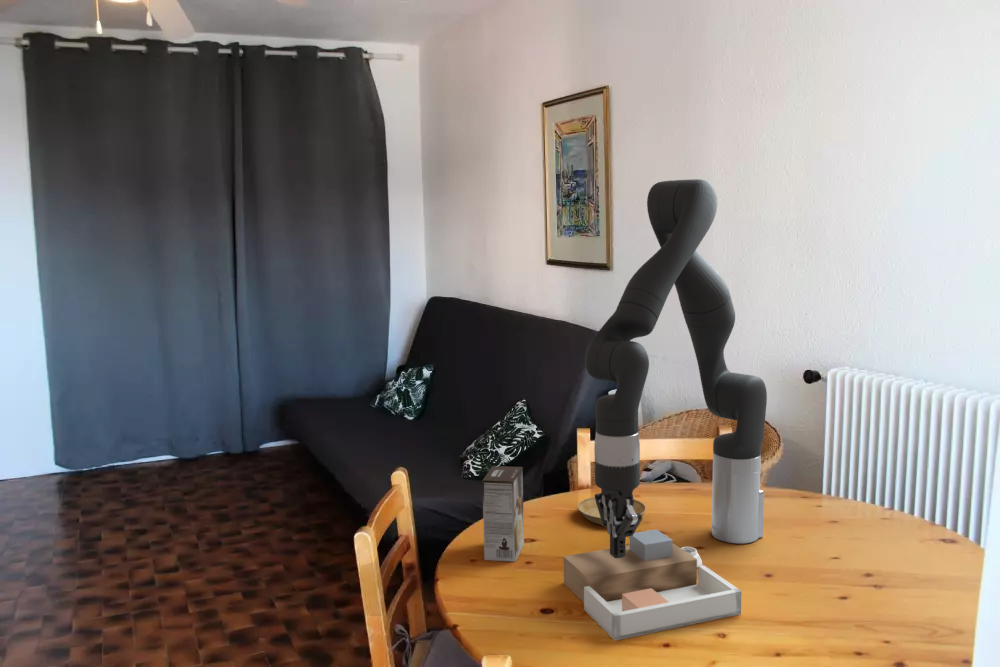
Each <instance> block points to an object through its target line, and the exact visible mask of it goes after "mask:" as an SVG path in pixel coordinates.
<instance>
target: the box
mask: <svg viewBox="0 0 1000 667" xmlns="http://www.w3.org/2000/svg"><path fill="white" fill-rule="evenodd" d="M697 569H698V570H697V573H698V574H697V576H698V577H697V584H696V585H692V586H687V587H682V588H677V589H671V590H666V591H661V592H657V593H658V594H659V595H661V596H662V597H663V598H665V599H666V600H667V601H668V602H667V603H662V604H657V605H652V606H647V607H642V608H637V609H632V610H627V611H622V599H619V600H614V601H609V602H606V601H605V600H604V599H603V598H602V597H601V596H600V595H599V594H598V593H597V592H595V591H594V590H593V589H592V588H591V587H590V586H586V587H584V603H583V610H584V611H585V612H586V614H588V615H589V616H590V617H591V618H592V619H593V620H594V621H595V622H596V624H598V625H599V626H600V627H601V629H603V631H605V633H607V634H608V636H609V637H610V638H612V639H613V641H621V640H625V639H630V638H634V637H640V636H643V635H644V636H645V635H649V634H654V633H659V632H662V631H667V630H672V629H677V628H681V627H687V626H692V625H696V623H697V624H701V623H706V622H711V621H716V620H720V619H725V618H730V617H734V616H740V615H742V592H743V591H742V590H741V589H739V588H738V587H736V586H735V585H734V584H732V583H730V582H729V581H727V580H726V579H725V578H723V577H721V576H720V575H719V574H717V573H716V572H714V571H713V570H712V569H710V568H709V567H708V566H706V565H705V564H702V565H701V566H698V568H697Z"/></svg>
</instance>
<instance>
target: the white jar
mask: <svg viewBox="0 0 1000 667" xmlns="http://www.w3.org/2000/svg"><path fill="white" fill-rule="evenodd" d="M680 548H681V549H682V550H684V551H685V552H687V553H688V554H690V555H691V556H693V557H694V558H696V559H697V569H698V566H701V565H703V560H702V558H701V556H700V554H699V553H698V550H697V548H694V547H691V546H683V547H680Z"/></svg>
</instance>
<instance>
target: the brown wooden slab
mask: <svg viewBox="0 0 1000 667" xmlns="http://www.w3.org/2000/svg"><path fill="white" fill-rule="evenodd" d="M681 548H682V547H679V546H678V545H677V544H675V543H674V542H673V543H672V556H671V557H666V558H660V559H654V560H649V561H644V560H643V559H641V558H640V557H639V556H637V555H636V554H635V553H633V552H632V551H631V550H630V544H629V545H625V556H624V557H622V558H614V557H613V556H612V555H611V554H610V548H605V549H601V550H600V549H599V550H594V551H586V552H582V553H575V554H570V555H564V556H563V584H564V585H565V586H566V587H567V588H568V589H569V590H570V591H571V592H572V593H573V594H574V596H576V597H577V598H578V599H579V600H580V601H581V602H582V603H583V604H584V587H586V586H590V587H591V588H592V589H593V590H594V591H595V592H597V593H598V594H599V595H600V596H601V597H602V598H603V599H604V600H605V601H606V602H609V601H614V600H619V599H622V594H625V593H630V592H635V591H640V590H645V589H650V588H652V589H653V590H654V591H656V592H661V591H666V590H671V589H677V588H682V587H687V586H692V585H697V584H698V577H697V576H698V574H697V573H698V570H697V569H698V568H697V559H696V558H694V557H693V556H691V555H690V554H688V553H687V552H685V551H684V550H682V549H681Z"/></svg>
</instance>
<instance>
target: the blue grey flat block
mask: <svg viewBox="0 0 1000 667" xmlns="http://www.w3.org/2000/svg"><path fill="white" fill-rule="evenodd" d="M673 541H674V540H673V539H672V538H670V537H669V536H667V535H666V534H664V533H663V532H661V531H660V530H659V529H656V528H655V529H650V530H643V531H639V532H634V534H633V536H629V545H630V550H631V551H632V552H633V553H635V554H636V555H637V556H639V557H640V558H641V559H643V560H644V561H649V560H654V559H660V558H666V557H671V556H672V543H674V542H673Z"/></svg>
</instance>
